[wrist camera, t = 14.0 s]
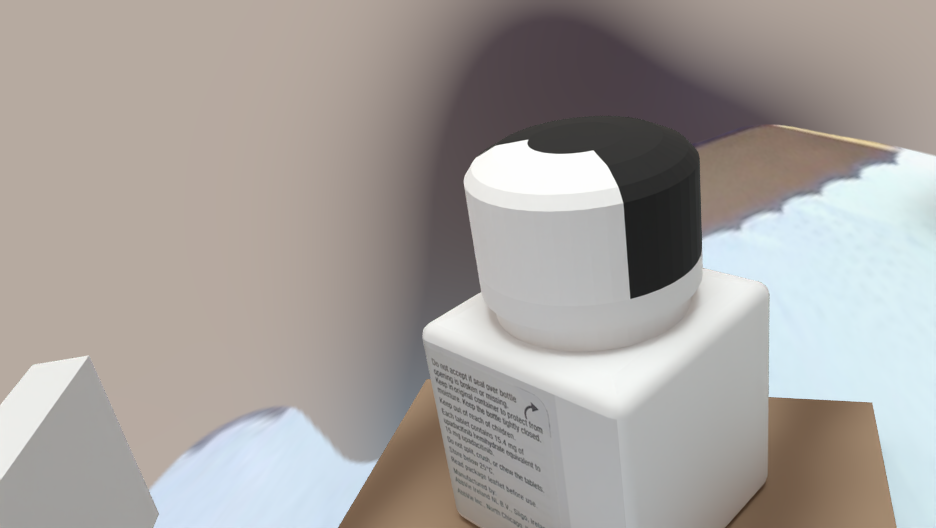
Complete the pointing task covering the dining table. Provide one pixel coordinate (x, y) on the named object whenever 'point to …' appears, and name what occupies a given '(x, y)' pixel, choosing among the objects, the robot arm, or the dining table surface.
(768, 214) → the dining table surface
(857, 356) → the dining table surface
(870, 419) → the serving board
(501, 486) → the container
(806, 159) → the dining table surface
